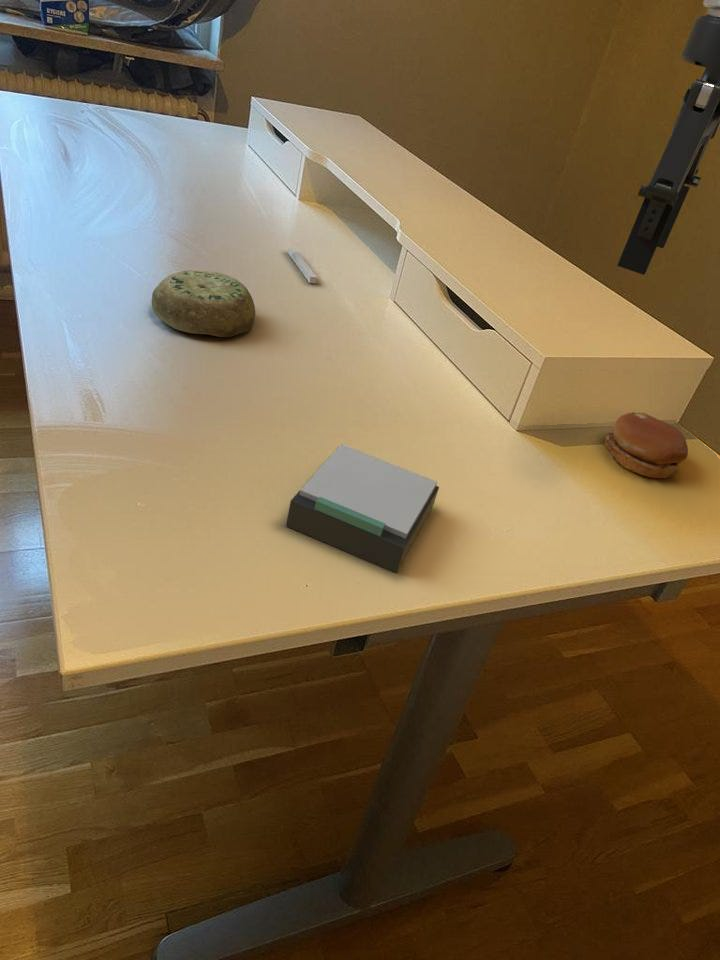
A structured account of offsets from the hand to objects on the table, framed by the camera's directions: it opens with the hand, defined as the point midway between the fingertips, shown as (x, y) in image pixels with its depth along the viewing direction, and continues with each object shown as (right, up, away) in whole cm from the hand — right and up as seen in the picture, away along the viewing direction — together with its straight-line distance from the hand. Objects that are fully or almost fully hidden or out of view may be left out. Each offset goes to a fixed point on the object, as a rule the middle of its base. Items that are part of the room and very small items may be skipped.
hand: (641, 256), depth 77 cm
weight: (-50, -2, +22) cm, 55 cm away
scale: (-29, -27, -6) cm, 40 cm away
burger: (+5, -21, +16) cm, 26 cm away
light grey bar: (-39, +12, +45) cm, 61 cm away
